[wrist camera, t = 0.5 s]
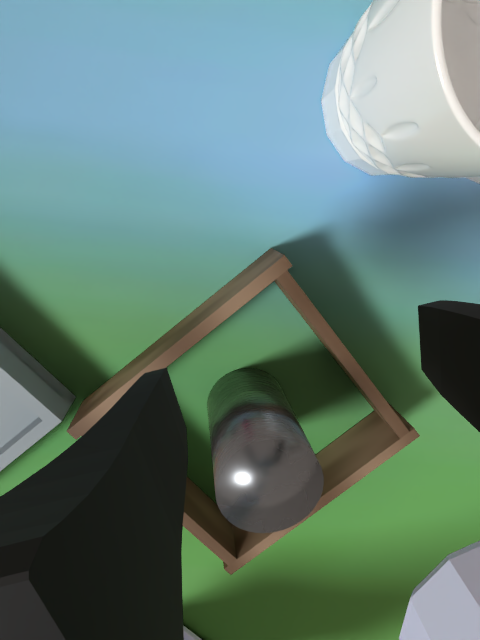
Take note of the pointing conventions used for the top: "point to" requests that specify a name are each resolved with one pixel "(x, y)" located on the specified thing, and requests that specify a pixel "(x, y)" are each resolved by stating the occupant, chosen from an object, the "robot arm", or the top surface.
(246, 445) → the metal tin
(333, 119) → the white cup
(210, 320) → the walnut box
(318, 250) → the top surface
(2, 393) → the slate tray
